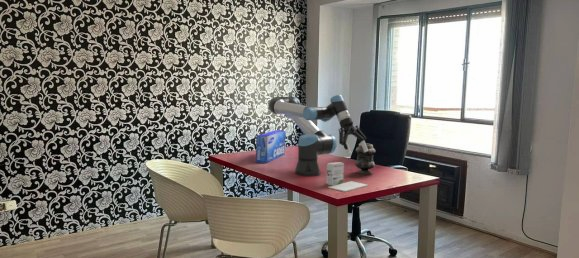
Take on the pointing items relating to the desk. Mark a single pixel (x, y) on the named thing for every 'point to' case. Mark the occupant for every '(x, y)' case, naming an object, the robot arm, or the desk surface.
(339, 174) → the ink box
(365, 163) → the apothecary jar
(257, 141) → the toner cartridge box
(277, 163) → the desk surface
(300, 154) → the robot arm
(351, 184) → the mat
